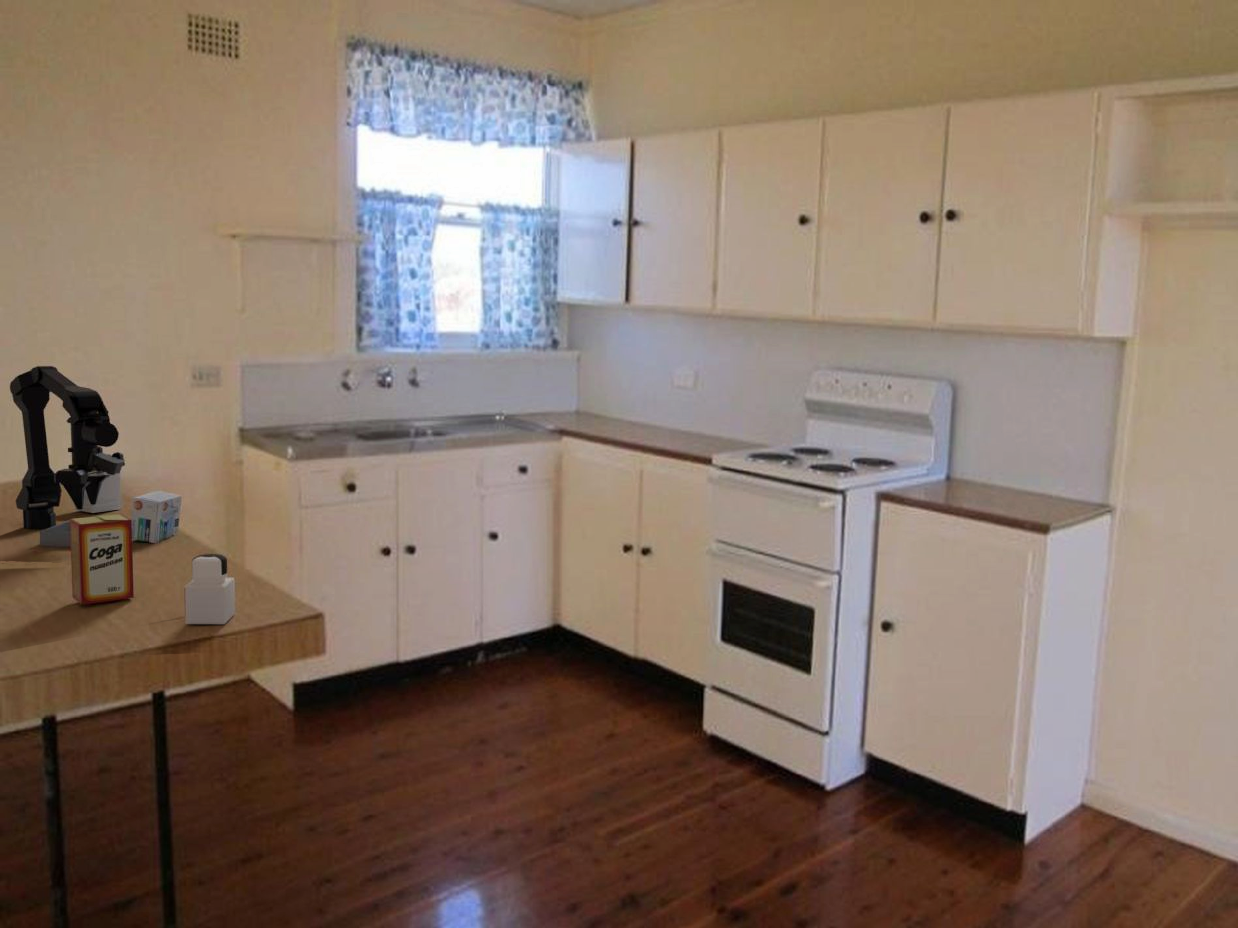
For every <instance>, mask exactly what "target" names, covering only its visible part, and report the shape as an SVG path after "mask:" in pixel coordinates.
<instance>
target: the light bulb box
mask: <svg viewBox="0 0 1238 928" xmlns="http://www.w3.org/2000/svg"><path fill="white" fill-rule="evenodd" d="M182 497H183V495H181V494H177V493H170V492H166V491H160V490H156V491H152V492H149V493H146V494H142V495H138V496H135V497H133V499H132V510H131V511H132V512H131V521H132V540H134V541H135V540H136V541H140V542H147V543H151V544H157V543H159V542H162V541H164V540H166V539H165V538H167V537H169V538H171V537H173V536H172V535H174V534H176V533H178V534H179V525H180V517H181V516H180V514H181V505H182ZM176 535H177V534H176ZM170 536H171V537H170ZM174 536H175V535H174ZM163 539H164V540H163ZM167 539H168V538H167ZM161 540H162V541H161Z"/></svg>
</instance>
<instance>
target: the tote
mask: <svg viewBox="0 0 1238 928" xmlns="http://www.w3.org/2000/svg"><path fill="white" fill-rule="evenodd" d="M39 546H40V547H55V548H56V547H59V548H63V547H64V548H65V547H66V548H71V541H70V519H69V520H66V521H64V522H61V523H59V524H56V525H55V526H53V527H50V528H47V529H41V531H39Z"/></svg>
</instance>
